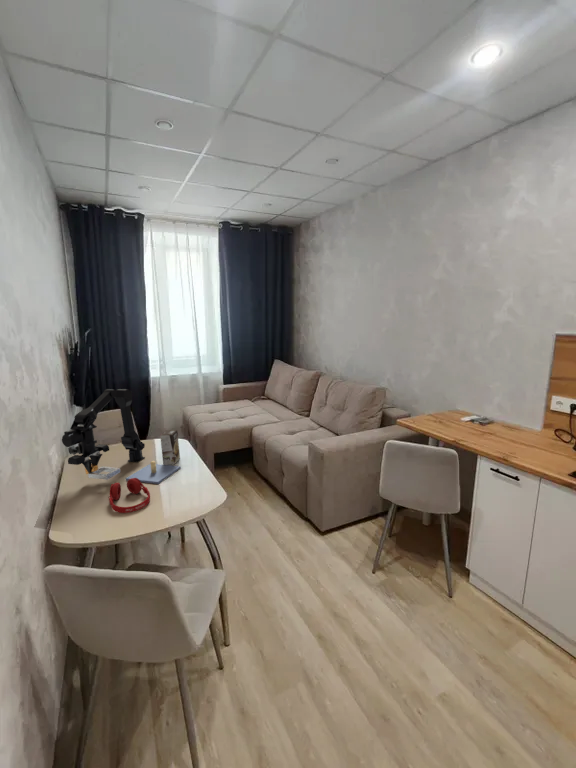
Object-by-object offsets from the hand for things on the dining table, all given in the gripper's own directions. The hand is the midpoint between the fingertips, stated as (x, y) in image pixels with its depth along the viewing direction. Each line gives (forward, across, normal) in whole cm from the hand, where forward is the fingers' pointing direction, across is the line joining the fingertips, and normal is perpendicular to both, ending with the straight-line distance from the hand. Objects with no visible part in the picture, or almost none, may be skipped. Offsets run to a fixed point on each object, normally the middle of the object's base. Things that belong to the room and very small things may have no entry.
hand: (91, 471), depth 171 cm
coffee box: (+6, -30, +22) cm, 38 cm away
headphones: (+6, +12, +31) cm, 33 cm away
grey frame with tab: (+1, 0, +5) cm, 5 cm away
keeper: (+5, -14, +23) cm, 28 cm away
